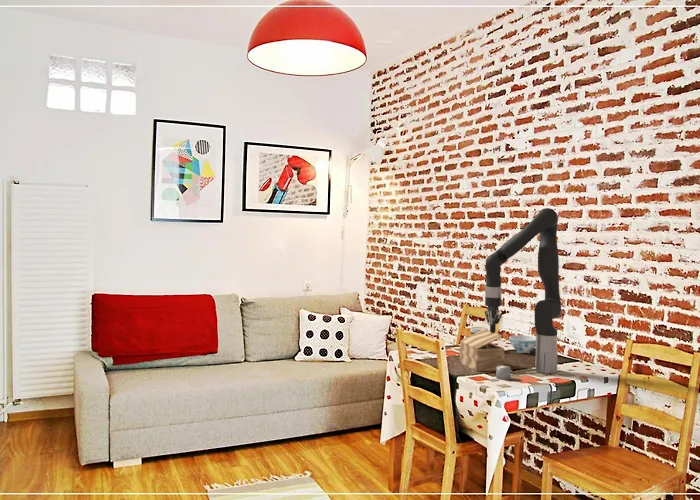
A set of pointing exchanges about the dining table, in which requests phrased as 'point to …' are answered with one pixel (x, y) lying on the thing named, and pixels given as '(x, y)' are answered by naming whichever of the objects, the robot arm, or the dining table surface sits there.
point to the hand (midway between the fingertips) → (492, 332)
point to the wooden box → (482, 357)
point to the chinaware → (523, 343)
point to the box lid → (480, 339)
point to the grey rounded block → (503, 372)
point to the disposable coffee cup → (476, 329)
